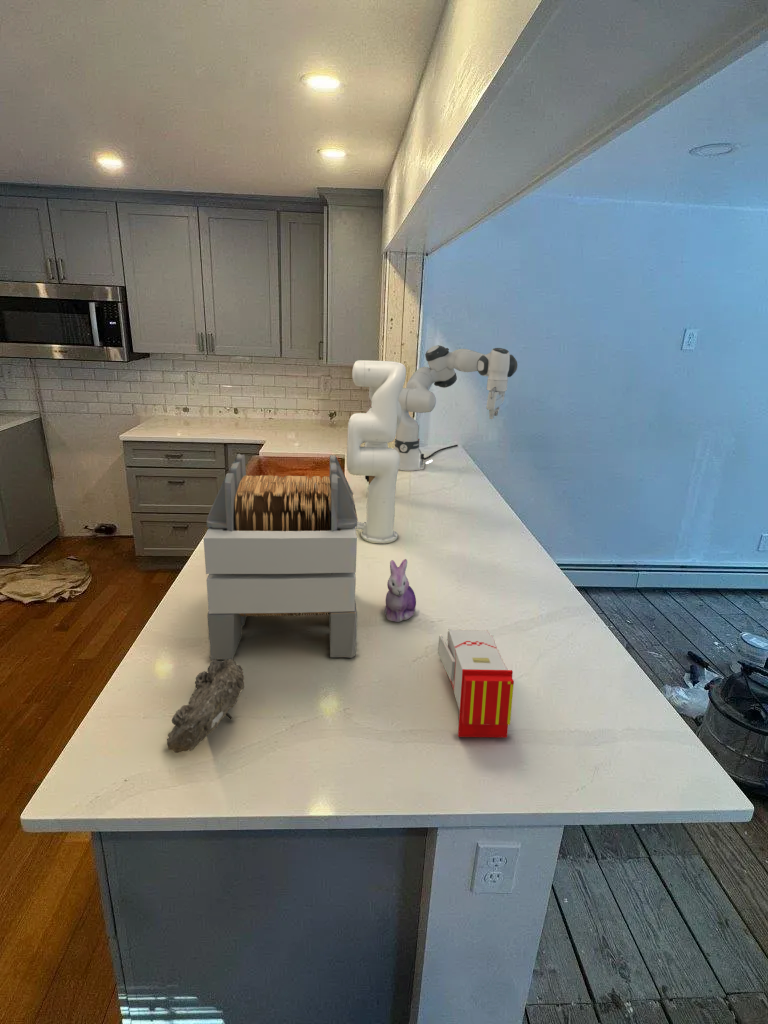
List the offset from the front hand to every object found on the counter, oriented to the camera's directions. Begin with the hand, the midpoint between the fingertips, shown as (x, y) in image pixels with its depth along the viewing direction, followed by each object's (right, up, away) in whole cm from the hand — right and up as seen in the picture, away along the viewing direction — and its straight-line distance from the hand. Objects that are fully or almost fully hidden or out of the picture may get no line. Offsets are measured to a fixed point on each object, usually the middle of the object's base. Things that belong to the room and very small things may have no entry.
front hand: (374, 480), depth 237 cm
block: (0, -6, +2) cm, 7 cm away
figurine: (+8, -40, -90) cm, 99 cm away
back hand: (+54, +30, +20) cm, 64 cm away
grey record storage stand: (-20, -41, -96) cm, 106 cm away
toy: (+22, -51, -119) cm, 131 cm away
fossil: (-29, -52, -129) cm, 142 cm away
